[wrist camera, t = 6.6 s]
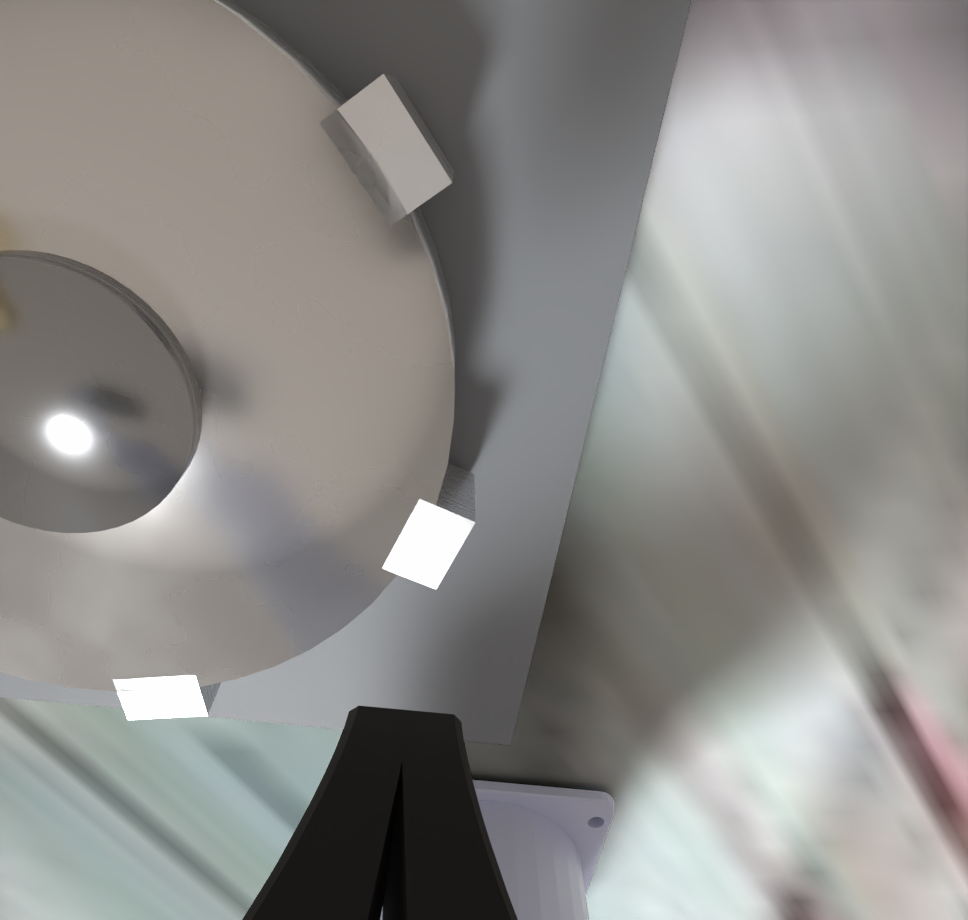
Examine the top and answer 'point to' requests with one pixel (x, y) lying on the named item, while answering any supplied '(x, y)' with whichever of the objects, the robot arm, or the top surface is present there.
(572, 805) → the robot arm
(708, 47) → the top surface
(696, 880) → the top surface
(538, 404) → the base plate
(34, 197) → the lugged metal disc
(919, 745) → the top surface
